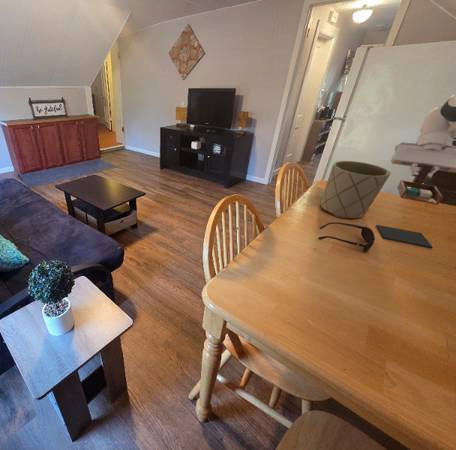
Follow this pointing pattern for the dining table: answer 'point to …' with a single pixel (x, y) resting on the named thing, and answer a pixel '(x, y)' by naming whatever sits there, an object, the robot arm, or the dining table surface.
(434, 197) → the basket
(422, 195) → the packet
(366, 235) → the sunglasses
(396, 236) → the mat
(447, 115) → the robot arm
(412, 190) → the packet
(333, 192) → the planter
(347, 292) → the dining table surface
